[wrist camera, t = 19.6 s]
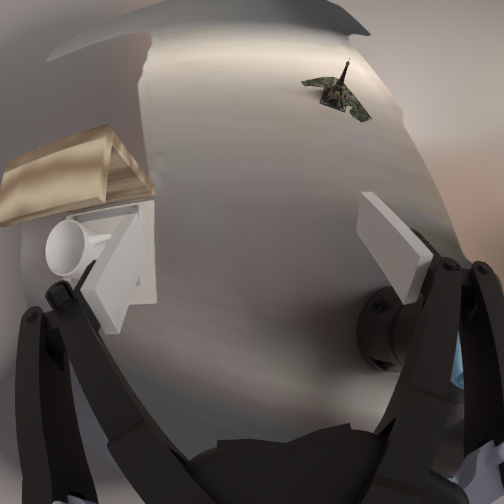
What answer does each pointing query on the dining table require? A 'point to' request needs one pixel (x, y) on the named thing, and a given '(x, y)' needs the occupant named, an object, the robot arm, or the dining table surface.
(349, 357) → the dining table surface
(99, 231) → the seat plate
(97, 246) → the mug
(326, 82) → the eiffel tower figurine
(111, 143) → the overhang shelf
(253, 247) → the dining table surface
